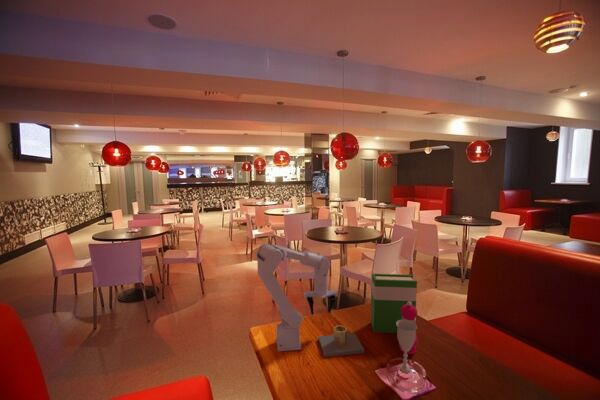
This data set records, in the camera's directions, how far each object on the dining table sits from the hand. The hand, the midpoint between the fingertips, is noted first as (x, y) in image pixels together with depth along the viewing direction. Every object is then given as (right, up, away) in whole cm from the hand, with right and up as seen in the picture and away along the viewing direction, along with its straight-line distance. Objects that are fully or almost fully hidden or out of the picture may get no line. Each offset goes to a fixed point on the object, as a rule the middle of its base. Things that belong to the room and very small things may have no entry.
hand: (320, 312), depth 120 cm
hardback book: (+33, -9, +5) cm, 34 cm away
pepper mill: (+34, -11, -10) cm, 37 cm away
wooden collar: (+7, -9, -8) cm, 14 cm away
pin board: (+7, -10, -8) cm, 15 cm away
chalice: (+28, -12, -23) cm, 38 cm away
